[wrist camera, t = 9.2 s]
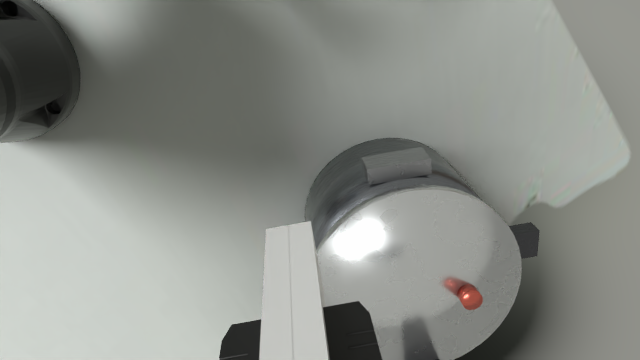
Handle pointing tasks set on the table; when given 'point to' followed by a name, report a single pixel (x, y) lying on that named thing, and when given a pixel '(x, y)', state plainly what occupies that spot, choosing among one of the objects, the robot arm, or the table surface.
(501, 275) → the lid
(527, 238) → the pot
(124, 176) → the table surface
